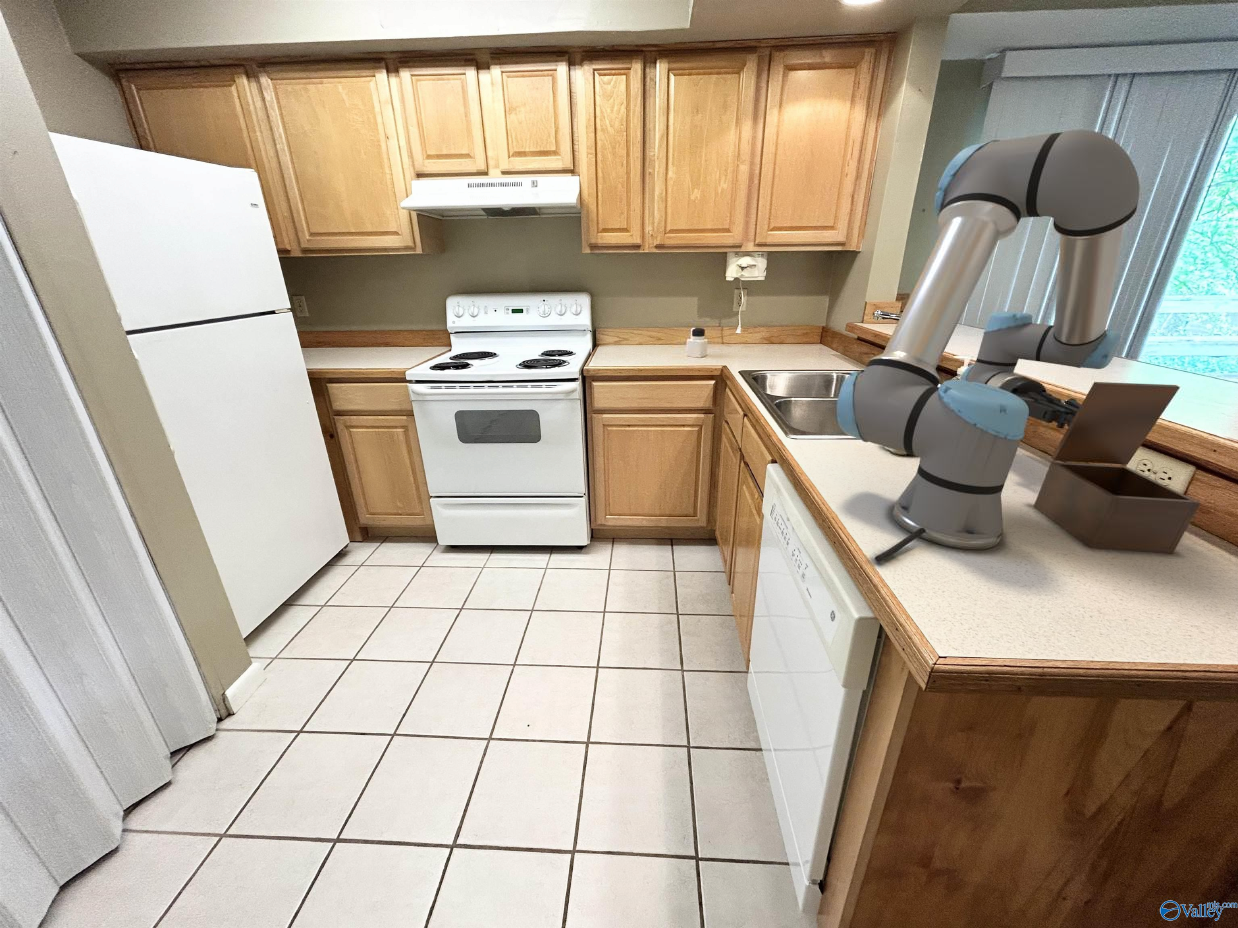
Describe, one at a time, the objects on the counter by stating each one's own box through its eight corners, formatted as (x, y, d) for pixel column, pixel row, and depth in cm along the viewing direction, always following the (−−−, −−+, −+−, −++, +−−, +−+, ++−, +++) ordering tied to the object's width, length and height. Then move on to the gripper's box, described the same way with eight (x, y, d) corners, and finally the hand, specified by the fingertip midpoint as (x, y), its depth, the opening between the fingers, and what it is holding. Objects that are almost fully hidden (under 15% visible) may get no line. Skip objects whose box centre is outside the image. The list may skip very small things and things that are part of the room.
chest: (1173, 553, 74) (1201, 502, 71) (1090, 547, 76) (1113, 497, 72) (1103, 511, 87) (1124, 465, 83) (1033, 506, 88) (1051, 461, 85)
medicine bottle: (706, 355, 217) (709, 327, 212) (700, 358, 211) (702, 329, 207) (692, 353, 221) (694, 326, 216) (685, 356, 215) (687, 328, 210)
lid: (1180, 387, 75) (1176, 384, 76) (1097, 383, 76) (1094, 381, 77) (1127, 464, 83) (1124, 462, 84) (1053, 460, 84) (1050, 458, 85)
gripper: (1042, 412, 104) (1135, 453, 82) (976, 409, 105) (1052, 449, 84) (1055, 377, 101) (1155, 411, 79) (987, 375, 102) (1068, 407, 81)
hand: (1102, 430), depth 82 cm, fingers closed
